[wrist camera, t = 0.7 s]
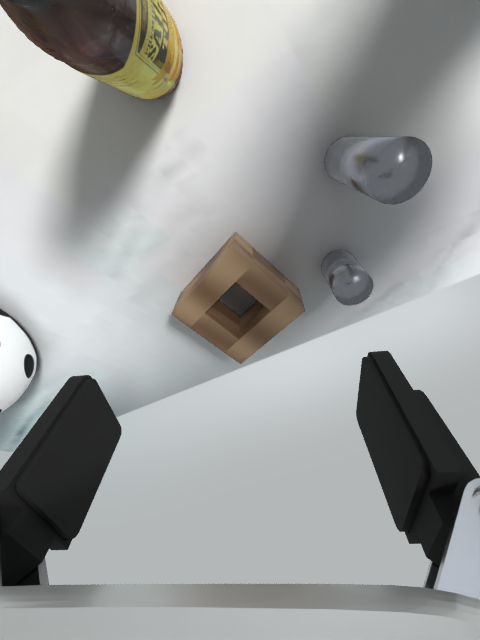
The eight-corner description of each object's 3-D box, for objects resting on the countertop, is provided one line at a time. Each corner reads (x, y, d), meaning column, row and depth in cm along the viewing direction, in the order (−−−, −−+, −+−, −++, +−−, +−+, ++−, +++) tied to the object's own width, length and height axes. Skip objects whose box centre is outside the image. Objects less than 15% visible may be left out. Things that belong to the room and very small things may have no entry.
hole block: (235, 231, 31) (233, 246, 27) (298, 289, 35) (305, 310, 31) (180, 293, 36) (171, 314, 31) (241, 339, 39) (240, 363, 35)
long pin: (348, 126, 26) (410, 120, 16) (371, 157, 27) (443, 170, 17) (316, 160, 28) (355, 174, 18) (340, 188, 29) (390, 216, 19)
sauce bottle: (197, 87, 25) (90, -14, 8) (131, 112, 26) (-83, 68, 9) (166, -21, 22) (-118, -554, 5) (92, 13, 23) (-348, -330, 6)
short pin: (340, 243, 32) (357, 263, 27) (360, 264, 33) (380, 287, 28) (314, 266, 33) (326, 289, 28) (334, 285, 35) (349, 311, 29)
